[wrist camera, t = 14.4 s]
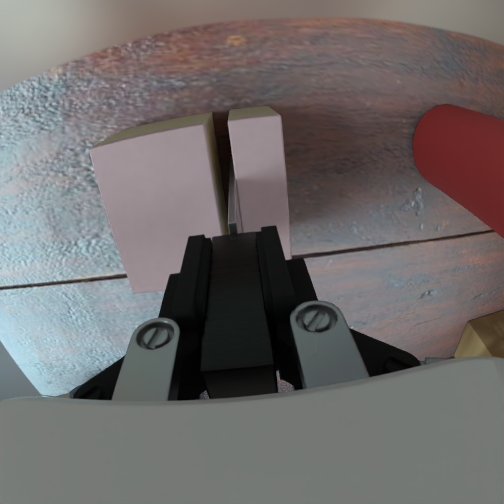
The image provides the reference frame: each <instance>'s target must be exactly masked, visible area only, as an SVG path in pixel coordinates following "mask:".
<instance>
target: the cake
mask: <svg viewBox="0 0 504 504" xmlns="http://www.w3.org/2000/svg"><path fill="white" fill-rule="evenodd" d="M89 151H90V156H91V160H92V164H93V168H94V172H95V175H96V179H97V183H98V186H99V190H100V194H101V197H102V201H103V204H104V207H105V211H106V214H107V217H108V221H109V224H110V227H111V230H112V233H113V236H114V239H115V242H116V245H117V248H118V251H119V254H120V257H121V260H122V263H123V266H124V268H125V271H126V274H127V277H128V279H129V282H130V285H131V287H132V290H133V293H134V294H135V293H145V292H155V291H165V290H166V286H167V282H168V278H169V276H170V274H174V273H180V270H181V266H182V261H183V257H184V253H185V249H186V245H187V241H188V237H189V236H194V235H202V234H204V235H205V238H211V240H212V237H214V236H221V235H229V234H230V233H229V227H228V214H227V208H226V202H225V195H224V189H223V183H222V176H221V170H220V163H219V156H218V150H217V143H216V136H215V129H214V123H213V116H212V112H209V113H203V114H197V115H191V116H185V117H179V118H174V119H169V120H164V121H159V122H154V123H150V124H145V125H141V126H136V127H132V128H128V129H124V130H122V131H120V132H118V133H117V134H115V135H113V136H111V137H109V138H107V139H106V140H104V141H102V142H100V143H98V144H97V145H95V146H93V147H92V148H90V149H89Z"/></svg>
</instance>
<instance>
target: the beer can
mask: <svg viewBox="0 0 504 504" xmlns="http://www.w3.org/2000/svg"><path fill="white" fill-rule="evenodd" d="M412 149H413V156H414V161H415V164H416V166H417V168H418V170H419V173H420V174H421V175H422V176H423V177H424V178H425V179H426V180H427V181H428V182H429V183H431V184H432V185H434V186H435V187H437V188H438V189H439V190H441V191H442V192H444V193H445V194H447V195H448V196H449V197H451V198H452V199H454V200H455V201H456V202H458V203H459V204H460V205H462V206H463V207H464V208H466V209H467V210H468V211H470V212H471V213H472V214H474V215H475V216H476V217H478V218H479V219H480V220H481V221H483V222H484V223H485V224H486V225H488V226H489V227H490V228H491V229H493V230H494V231H495V232H496V233H498V234H499V235H500V236H501V237H502V238H504V120H501V119H498V118H495V117H492V116H489V115H486V114H482V113H479V112H475V111H472V110H468V109H465V108H461V107H457V106H453V105H449V104H445V105H439V106H436V107H434V108H433V109H431V110H430V111H428V112H426V113H425V115H424V116H423V117H422V119H421V120H420V121H419V122H418V125H417V128H416V130H415V133H414V137H413V146H412Z"/></svg>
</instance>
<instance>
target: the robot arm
mask: <svg viewBox="0 0 504 504" xmlns="http://www.w3.org/2000/svg"><path fill="white" fill-rule="evenodd" d="M255 233H256V241H257V249H258V256H259V263H260V271H261V278H262V285H263V293H264V300H265V308H266V310H267V311H268V315H269V322H270V329H271V336H272V343H273V350H274V357H275V364H276V371H278V370H279V374H280V380H285V381H286V382H288V383H290V384H292V385H293V391H288V392H281V393H273V394H264V395H255V396H245V397H234V398H221V399H205V400H204V393H203V392H204V391H205V390H206V388H205V385H204V382H203V380H202V377H201V374H200V372H199V366H200V353H201V341H202V329H203V319H204V317H205V308H206V297H207V287H208V276H209V266H210V257H211V247H212V241H211V238H205V235H204V234H202V235H194V236H189V237H188V241H187V245H186V249H185V253H184V257H183V261H182V266H181V270H180V273H174V274H170V276H169V278H168V282H167V286H166V290H165V293H164V297H163V301H162V305H161V309H160V313H159V317H158V318H155V319H151V320H148V321H146V322H144V323H143V324H141V325H139V326H138V327H137V329H136V330H135V331H134V333H133V334H132V337H131V340H130V343H129V345H128V349H127V352H126V355H125V356H124V357H122V358H121V359H120V360H118V361H117V362H115V363H114V364H112V365H111V366H109V367H108V368H106V369H105V370H103V371H102V372H101V373H99V374H98V375H96V376H95V377H93V378H92V379H90V380H89V381H87V382H86V383H84V384H83V385H82V386H81V387H79V388H78V389H77V391H76V392H75V393H74V395H73V396H72V395H71V394H70V393H67V394H63V395H59V396H55V397H18V398H9V399H6V400H2V401H0V504H504V358H498V357H485V356H474V357H461V358H425V361H419V360H418V359H417V358H416V357H415V356H413V355H412V354H410V353H408V352H406V351H403V350H401V349H398V348H396V347H393V346H391V345H389V344H386V343H384V342H381V341H379V340H376V339H374V338H372V337H369V336H367V335H364V334H362V333H360V332H357V331H355V330H352V329H350V328H349V327H348V325H347V323H346V320H345V318H344V316H343V314H342V312H341V311H340V309H339V308H338V307H337V306H335V305H334V304H332V303H329V302H326V301H319V300H318V299H317V296H316V293H315V290H314V287H313V284H312V281H311V278H310V275H309V273H308V270H307V267H306V264H305V261H304V259H303V258H298V259H290V260H285V256H284V252H283V248H282V245H281V241H280V237H279V234H278V230H277V226H276V225H274V226H265V227H261V231H258V232H255Z"/></svg>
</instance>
